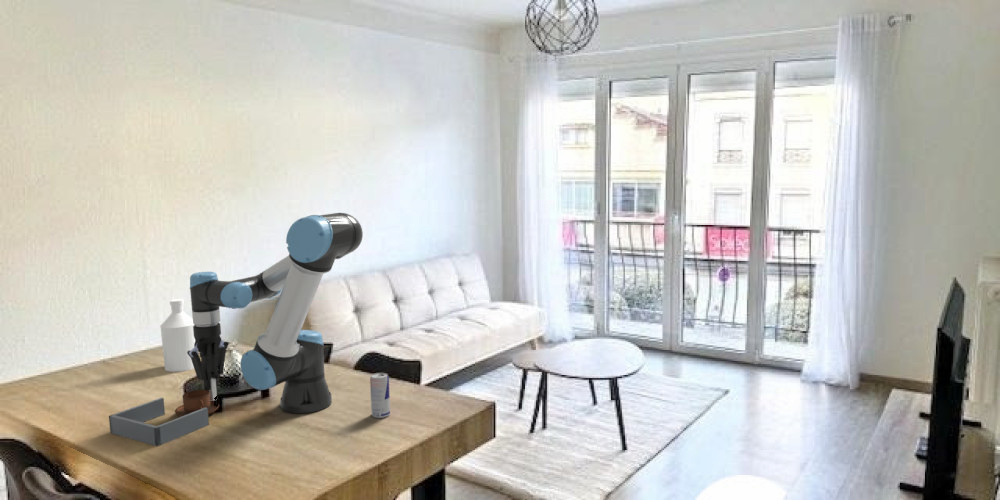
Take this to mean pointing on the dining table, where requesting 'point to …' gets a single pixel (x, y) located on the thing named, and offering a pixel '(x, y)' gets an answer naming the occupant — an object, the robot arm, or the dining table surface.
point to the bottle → (177, 338)
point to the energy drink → (380, 395)
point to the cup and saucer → (196, 402)
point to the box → (134, 428)
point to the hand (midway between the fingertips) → (212, 399)
